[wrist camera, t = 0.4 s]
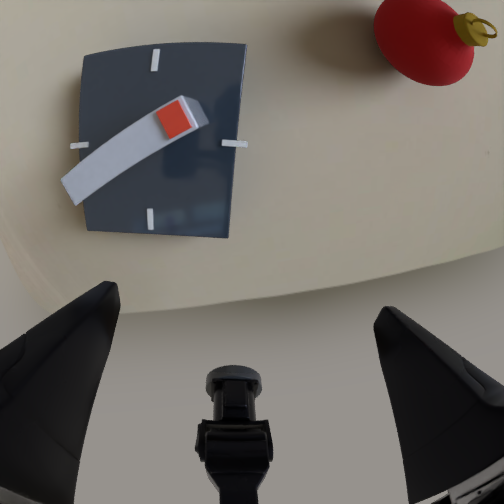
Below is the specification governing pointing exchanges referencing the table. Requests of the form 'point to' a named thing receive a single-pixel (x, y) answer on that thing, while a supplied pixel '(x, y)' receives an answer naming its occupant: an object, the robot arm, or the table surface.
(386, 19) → the christmas ornament
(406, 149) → the table surface
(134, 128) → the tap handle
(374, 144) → the table surface
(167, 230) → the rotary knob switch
